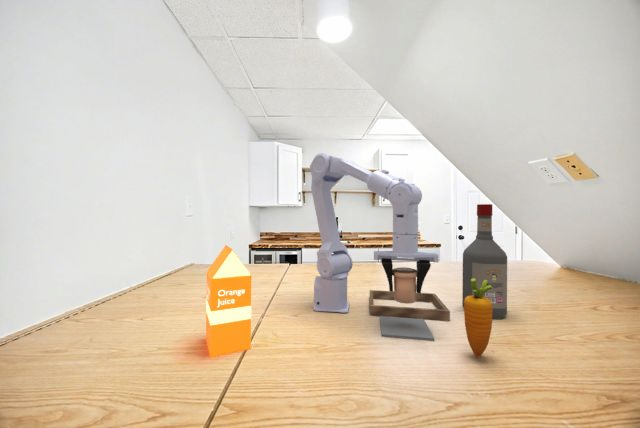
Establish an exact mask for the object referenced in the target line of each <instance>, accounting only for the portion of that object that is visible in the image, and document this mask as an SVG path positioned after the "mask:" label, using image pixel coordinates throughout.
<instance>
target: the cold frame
mask: <svg viewBox="0 0 640 428" xmlns="http://www.w3.org/2000/svg"><path fill="white" fill-rule="evenodd" d="M374 300H387V301H395V299H394V290H393V292H390V290H377V289H376V290H375V289H369V316H373V317H374V316H376V317H380V316H384V317H398V318H412V319H424V320H429V321H431V320H432V321H444V322H450V321H451V311H450V309H449V308H448V307H447V306H446V305H445V304H444V303H443V301H442V300H441V299H440V297H438V295H437V294H436V293H431V292H421V293H417V292H416V302H418V303H419V302H420V303H432V304H433V306H434V307H435V308H423V307H408V306H395V305H394V306H393V305H380V304H379V305H378V304H377V305H376V304H375V303H374Z"/></svg>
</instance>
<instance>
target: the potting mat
mask: <svg viewBox="0 0 640 428" xmlns="http://www.w3.org/2000/svg"><path fill="white" fill-rule="evenodd" d="M379 325H380V331H381V332H380V333H381V337H384V338H385V337H386V338H394V339H408V340H417V341H419V340H420V341H430V342H431V341H432V342H434V341H435V337H434V335H433V333H432V332H431V329H430V328H429V325H428V324H427V322H426V319H414V318H400V317H386V316H379Z"/></svg>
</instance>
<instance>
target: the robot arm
mask: <svg viewBox="0 0 640 428" xmlns="http://www.w3.org/2000/svg"><path fill="white" fill-rule="evenodd" d="M309 168H310V174H311V186H310V187H311V194H312V195H311V196H312V200H313V206H314V210H315V211H314V212H315V215H316V220H317V225H318V230H319V231H318V232H319V236H320V242H321V246H320V247H319V249H318V250H317V251H316V256H317V258H316V259H317V261H316V270H317V272H318V274H319V275H316V276H315V279H314V282H313V284H314V285H313V311H314V312H329V313H343V314H344V313H345V314H347V313H348V311H349V308H350V302H349V301H348V276H349V272H350V271H351V270H353V269H352V268H353V266H354V265H353V263H354V262H353V259H352V257H351V255H350V254H349V251H348V248H347V246H346V245H345V244H344V243H342V242H341V237H340V232H339V228H338V224H337V219H336V214H335V213H336V212H335V208H334V203H333V199H332V194H331V191H332V189H333V187H335V186H337V185H336V184H338V182H340V181H341V180H342V179H343V177H345V176H351V177H352V178H355V180H359V181H361V182H363V183H365V184H366V186H367V190H369V191H370V192H372V193H374V194H375V195H377V196H379V197H381V198H383V199H385V200H387V201H388V202H389V203H390V204H391V206H392V250H374V251H373V260H374V261H379V260H380V262H381V265H382V268H383V270H384V272H385V275H386V277H387V281H388V287H389V288H388V289H389V290H388V291H390V292H393V291H394V281H393V275H392V269H394V268H393V265H394V264H393V261H403V262H404V261H405V262H416V264H415V265H416V270H417V271H418V276H417V277H416V293H422V287H423V284H424V281H425V278H426V276H427V274H428V272H429V271H430V269H431V266H432V264H431V263H439V253H436V252H427V251H426V252H423V251H419V204H420V203H421V201H422V199H423V194H422V193H423V192H422V191H421V189H420V187H418V185H416V184H415V183H405V178H403V177H399V178H397V177H396V176H393V175H392V174H389V173H390V171H388V170H386V169H381V170H380V169H378V170H377V169H376V170H375V171H371V170H369V169H367V168H365V167H363V166H361V165H359V164H358V163H355V162H354V161H352V160H349V159H345V158H342V157H338V156H332V155H328V154H326V153H323V152H322V153H321V152H320V153H317V154H316V155H315V156H314V157H313V160H312V161H311V163H310V165H309Z"/></svg>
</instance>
